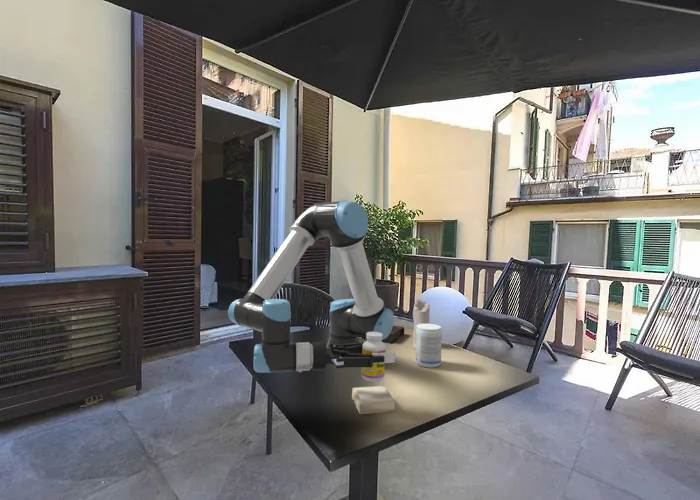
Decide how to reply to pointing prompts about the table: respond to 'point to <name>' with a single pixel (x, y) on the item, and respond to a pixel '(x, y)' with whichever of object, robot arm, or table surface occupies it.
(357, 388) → the birch plinth
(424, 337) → the supplement tub
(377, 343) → the supplement bottle
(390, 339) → the diary
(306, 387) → the table surface
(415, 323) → the candle
